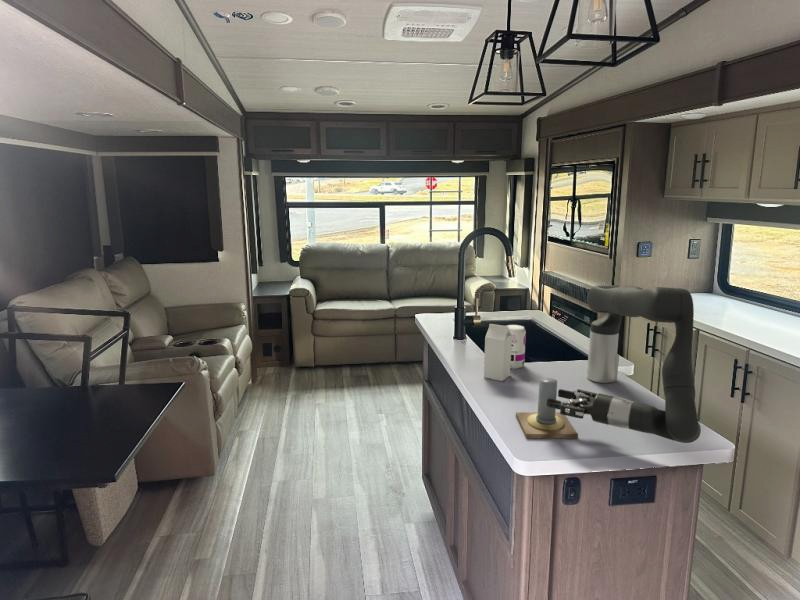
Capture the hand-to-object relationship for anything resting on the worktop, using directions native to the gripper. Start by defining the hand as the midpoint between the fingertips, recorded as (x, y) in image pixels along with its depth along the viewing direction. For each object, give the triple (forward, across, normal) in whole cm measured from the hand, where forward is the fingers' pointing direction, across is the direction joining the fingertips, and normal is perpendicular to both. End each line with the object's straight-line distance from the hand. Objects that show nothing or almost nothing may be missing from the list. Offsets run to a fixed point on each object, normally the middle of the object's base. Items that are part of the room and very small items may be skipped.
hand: (553, 397), depth 151 cm
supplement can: (+31, -43, +9) cm, 54 cm away
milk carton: (+31, -29, +9) cm, 43 cm away
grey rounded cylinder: (+2, 0, +8) cm, 8 cm away
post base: (+2, 0, +9) cm, 9 cm away
